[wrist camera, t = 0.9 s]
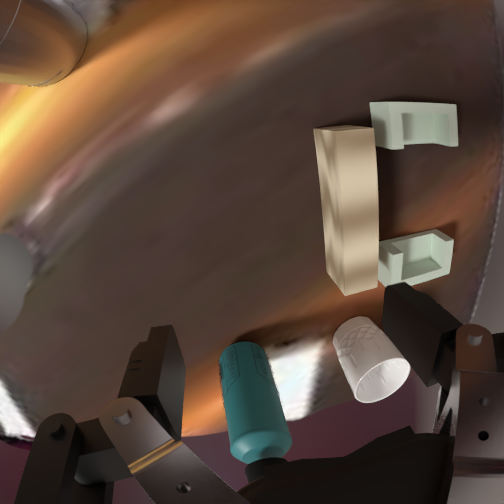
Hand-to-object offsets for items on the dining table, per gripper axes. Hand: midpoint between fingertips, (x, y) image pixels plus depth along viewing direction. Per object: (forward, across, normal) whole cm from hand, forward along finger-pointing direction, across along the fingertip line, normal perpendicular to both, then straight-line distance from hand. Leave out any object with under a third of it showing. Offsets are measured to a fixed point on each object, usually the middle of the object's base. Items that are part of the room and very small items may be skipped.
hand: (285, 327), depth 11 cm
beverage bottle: (+25, +2, +20) cm, 32 cm away
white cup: (+25, -14, +21) cm, 36 cm away
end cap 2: (+24, -21, +10) cm, 34 cm away
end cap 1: (+23, -21, -7) cm, 32 cm away
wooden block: (+24, -11, +2) cm, 26 cm away
